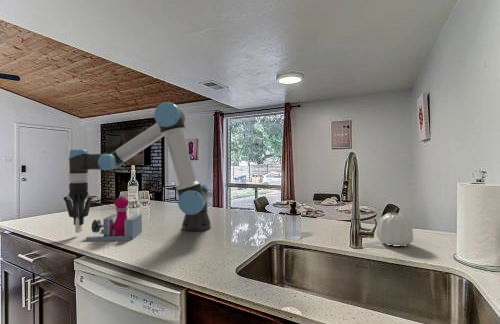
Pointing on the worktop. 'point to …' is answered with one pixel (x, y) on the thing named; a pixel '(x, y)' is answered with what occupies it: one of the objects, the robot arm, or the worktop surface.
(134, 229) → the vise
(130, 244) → the worktop surface
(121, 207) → the pepper mill
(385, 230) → the white pumpkin
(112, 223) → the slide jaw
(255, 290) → the worktop surface
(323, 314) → the worktop surface
